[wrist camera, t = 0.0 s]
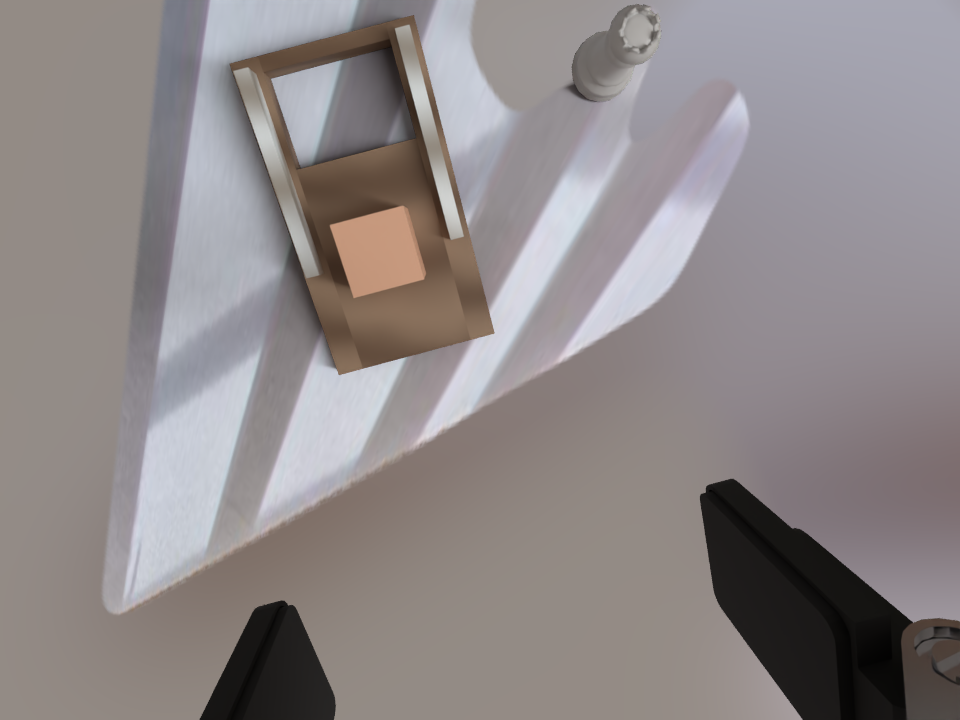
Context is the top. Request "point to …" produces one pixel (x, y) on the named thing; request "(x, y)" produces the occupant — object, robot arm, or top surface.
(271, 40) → the top surface
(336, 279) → the tan rectangular frame
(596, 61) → the rook chess piece
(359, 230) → the block
